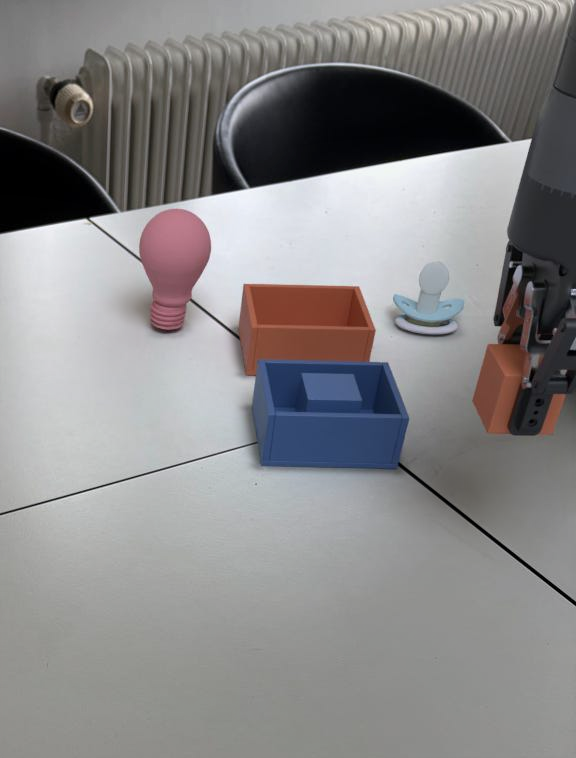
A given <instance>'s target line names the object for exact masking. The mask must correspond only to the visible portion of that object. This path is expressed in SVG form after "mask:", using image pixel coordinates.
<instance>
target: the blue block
mask: <svg viewBox="0 0 576 758" xmlns="http://www.w3.org/2000/svg"><path fill="white" fill-rule="evenodd" d="M361 404H362V398H361V395H360V392H359V389H358V386H357V383H356V380H355V377H354V374H326V373H301V378H300V384H299V391H298V397H297V403H296V409H295V412H317V413H360V409H361Z"/></svg>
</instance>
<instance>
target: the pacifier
mask: <svg viewBox="0 0 576 758" xmlns="http://www.w3.org/2000/svg"><path fill="white" fill-rule="evenodd" d="M449 281H450V270H449V268H448V267H447V265H446V264H445V263H443V262H441V261H431V262H428V263H427V264H426V265H425V266H424V267H423V268H422V270H421V271H420V273H419V277H418V285H419V289H420V292H419V294H418V298H417V300H414V299H411V298H409V297H407V296H404V295H402V294H396V293H394V294H393V295H392V301H393V303H394V305H395V306H396V308H398V310H400V311H401V313H403V314H401V315H398V316H397V317H396V318H395V319H394V323H395V324H396V325H397V326H398V327H399V328H401V329H403V330H405V331H408V332H411V333H416V334H423V335H433V336H435V335H446V334H451V333H453V332H455V331H456V330H458V329H459V328H458V327H459V325H458V323H457V322H456V321H455V320H453V318H455V317H456V316H458V315H459V314H460V313H461V312H462V311H463V309H464V308H465V304H466V302H465V300H464V299H463V298H448V299H443V300H441V295H442V292H443V291H445V289H446V288H447V286H448V284H449ZM442 324H444V325H442ZM441 325H442V326H441Z"/></svg>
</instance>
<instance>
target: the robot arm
mask: <svg viewBox="0 0 576 758" xmlns="http://www.w3.org/2000/svg"><path fill="white" fill-rule="evenodd" d="M548 90H549V91H548V93H547V95H546V98H545V100H544V103H543V104H542V106H541V109H540V112H539V114H538V117H537V120H536V123H535V127H534V129H533V133H532V137H531V140H530V144H529V147H528V151H527V155H526V158H525V161H524V165H523V169H522V173H521V177H520V180H519V184H518V188H517V191H516V195H515V198H514V202H513V206H512V210H511V212H510V213H511V214H510V217H509V220H508V224H507V228H506V234H507V238H508V242H507V244H506V247H505V253H504V260H503V265H502V270H501V276H500V281H499V287H498V292H497V297H496V298H497V299H496V303H495V309H494V314H493V319H492V320H493V325H494V327H496V328H497V327H498V328H499V327H500V329H499V331H498V334H497V344H520V348H521V350H522V351H524V352H525V354H526V356H525V362H524V368H523V373H522V378H521V384H520V386H519V389H518V392H517V396H516V399H515V402H514V405H513V408H512V412H511V415H510V418H509V421H508V424H507V428H508V430H509V432H510V433H511V434H510V435H511V436H514V437H516V436H517V437H518V436H521V437H522V436H523V437H534V436H537V435H540V434H539V433H540V432H541V430H542V427H543V424H544V421H545V418H546V415H547V412H548V409H549V406H550V403H551V400H552V397H553V394H566V395H572V394H573V393H574V392H575V390H576V0H574V1H573V5H572V7H571V10H570V14H569V18H568V21H567V25H566V30H565V33H564V36H563V40H562V44H561V47H560V51H559V53H558V58H557V62H556V65H555V68H554V72H553V75H552V79H551V83H550V86H549V89H548ZM541 335H551V336H552V335H553V336H552V338H551V340H549V339H548V340H540V337H541ZM543 354H545V355H544V357H543V359H542V361H541V363H540V365H539V367H538V369H537V366H538V361H539V357H540V356H541V355H543ZM566 370H567V371H566Z"/></svg>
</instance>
